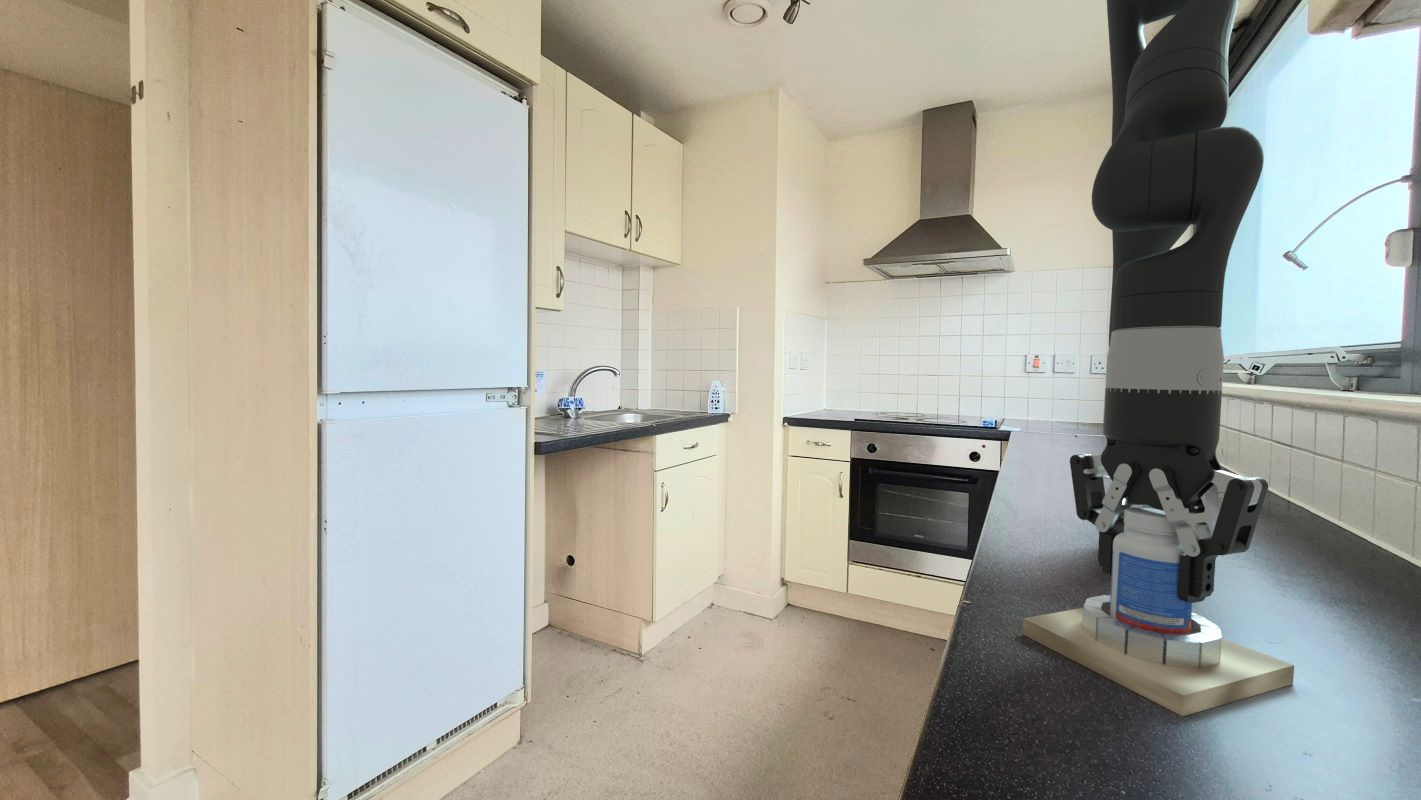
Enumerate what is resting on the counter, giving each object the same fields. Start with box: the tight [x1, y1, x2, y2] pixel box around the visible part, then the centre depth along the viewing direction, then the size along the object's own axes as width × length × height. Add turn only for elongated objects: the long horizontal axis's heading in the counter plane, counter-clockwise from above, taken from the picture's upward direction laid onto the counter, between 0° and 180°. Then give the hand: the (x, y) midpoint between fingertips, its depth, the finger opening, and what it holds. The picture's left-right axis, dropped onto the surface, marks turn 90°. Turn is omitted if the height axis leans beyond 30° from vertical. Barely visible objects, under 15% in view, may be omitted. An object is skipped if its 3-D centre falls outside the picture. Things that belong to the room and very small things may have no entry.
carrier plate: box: [1022, 607, 1295, 717], centre depth 48 cm, size 13×13×2 cm
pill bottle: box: [1110, 507, 1193, 635], centre depth 47 cm, size 6×5×10 cm
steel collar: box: [1082, 594, 1222, 669], centre depth 48 cm, size 9×9×2 cm
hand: (1150, 585), depth 47 cm, fingers closed on pill bottle, 5 cm apart
